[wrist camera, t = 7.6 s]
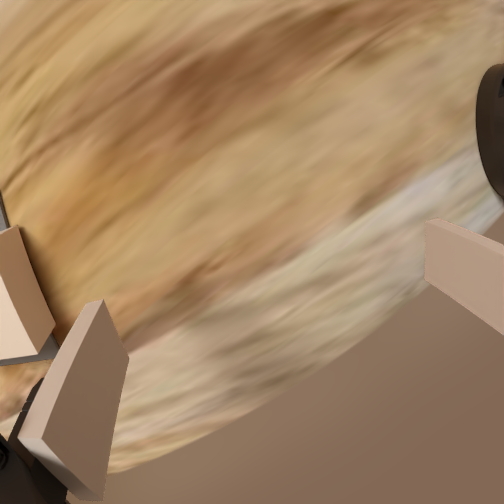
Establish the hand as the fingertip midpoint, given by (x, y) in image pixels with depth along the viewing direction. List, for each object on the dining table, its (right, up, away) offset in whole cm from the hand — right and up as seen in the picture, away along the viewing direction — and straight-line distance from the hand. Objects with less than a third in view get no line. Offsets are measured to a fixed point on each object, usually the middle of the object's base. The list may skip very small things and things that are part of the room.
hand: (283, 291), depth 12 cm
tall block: (-16, -1, +6) cm, 17 cm away
